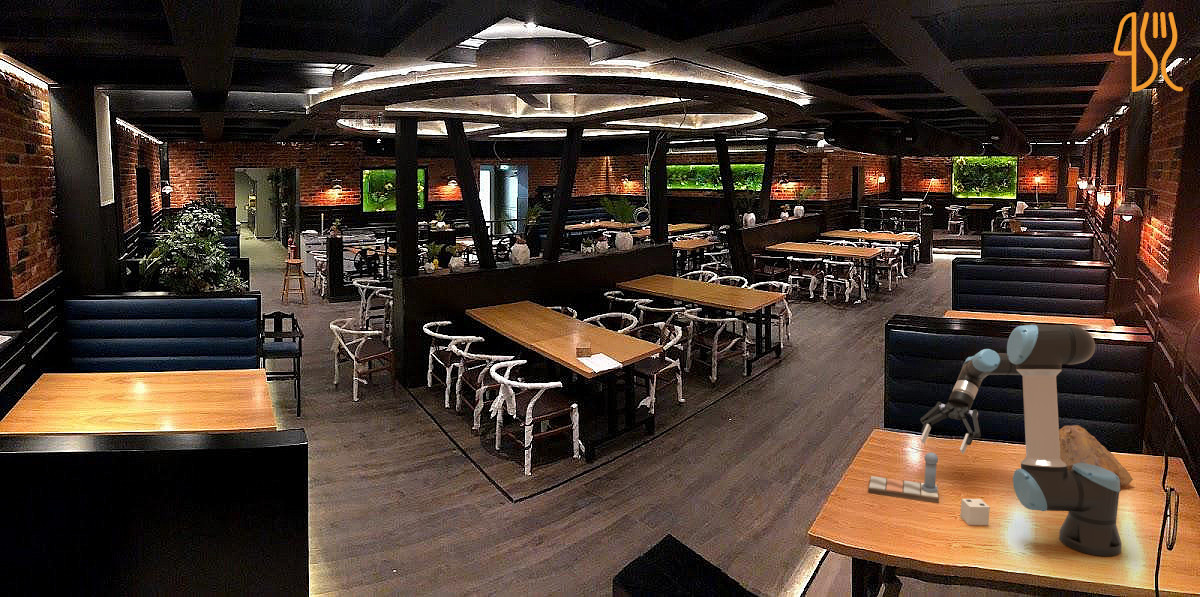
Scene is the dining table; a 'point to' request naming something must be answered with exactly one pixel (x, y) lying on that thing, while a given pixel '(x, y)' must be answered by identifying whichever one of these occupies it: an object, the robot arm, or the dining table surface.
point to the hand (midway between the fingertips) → (941, 446)
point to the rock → (1088, 452)
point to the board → (901, 489)
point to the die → (975, 511)
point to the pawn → (930, 473)
